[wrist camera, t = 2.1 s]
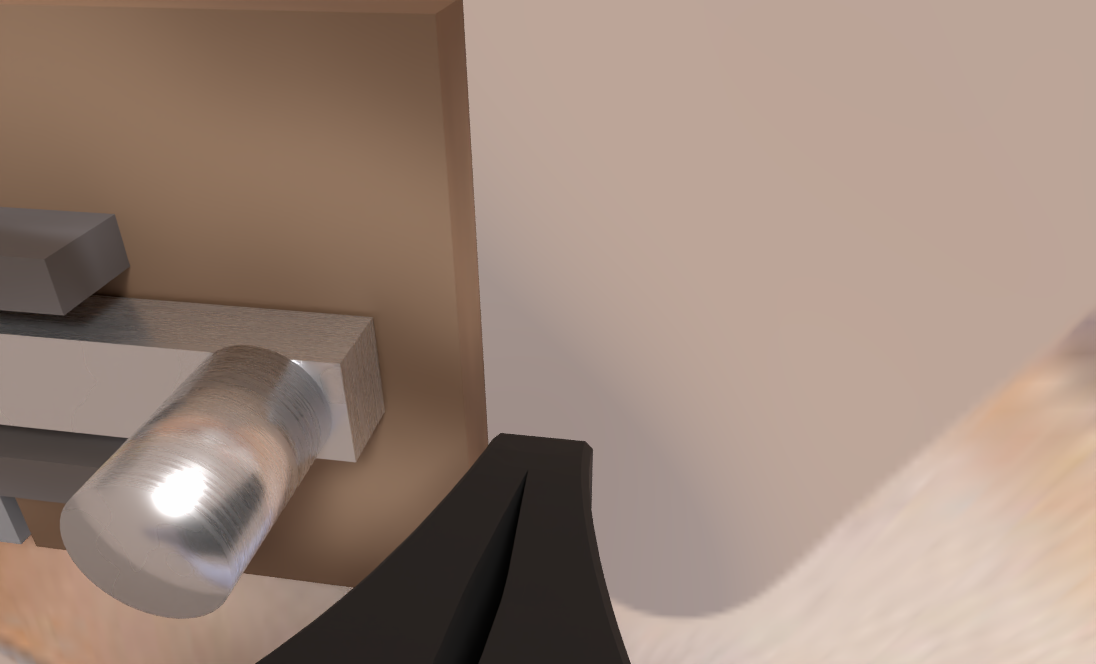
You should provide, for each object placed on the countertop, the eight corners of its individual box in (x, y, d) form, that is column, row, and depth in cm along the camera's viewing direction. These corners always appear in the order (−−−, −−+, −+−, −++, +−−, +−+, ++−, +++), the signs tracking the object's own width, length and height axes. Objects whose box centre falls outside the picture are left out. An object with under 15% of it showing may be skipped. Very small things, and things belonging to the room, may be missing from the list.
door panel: (494, 552, 19) (456, 675, 16) (77, 502, 21) (-21, 606, 18) (462, -4, 13) (394, 41, 10) (-125, -15, 15) (-323, 20, 12)
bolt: (386, 419, 16) (268, 632, 11) (-39, 377, 17) (-283, 554, 13) (371, 307, 14) (232, 499, 10) (-86, 271, 16) (-372, 428, 12)
